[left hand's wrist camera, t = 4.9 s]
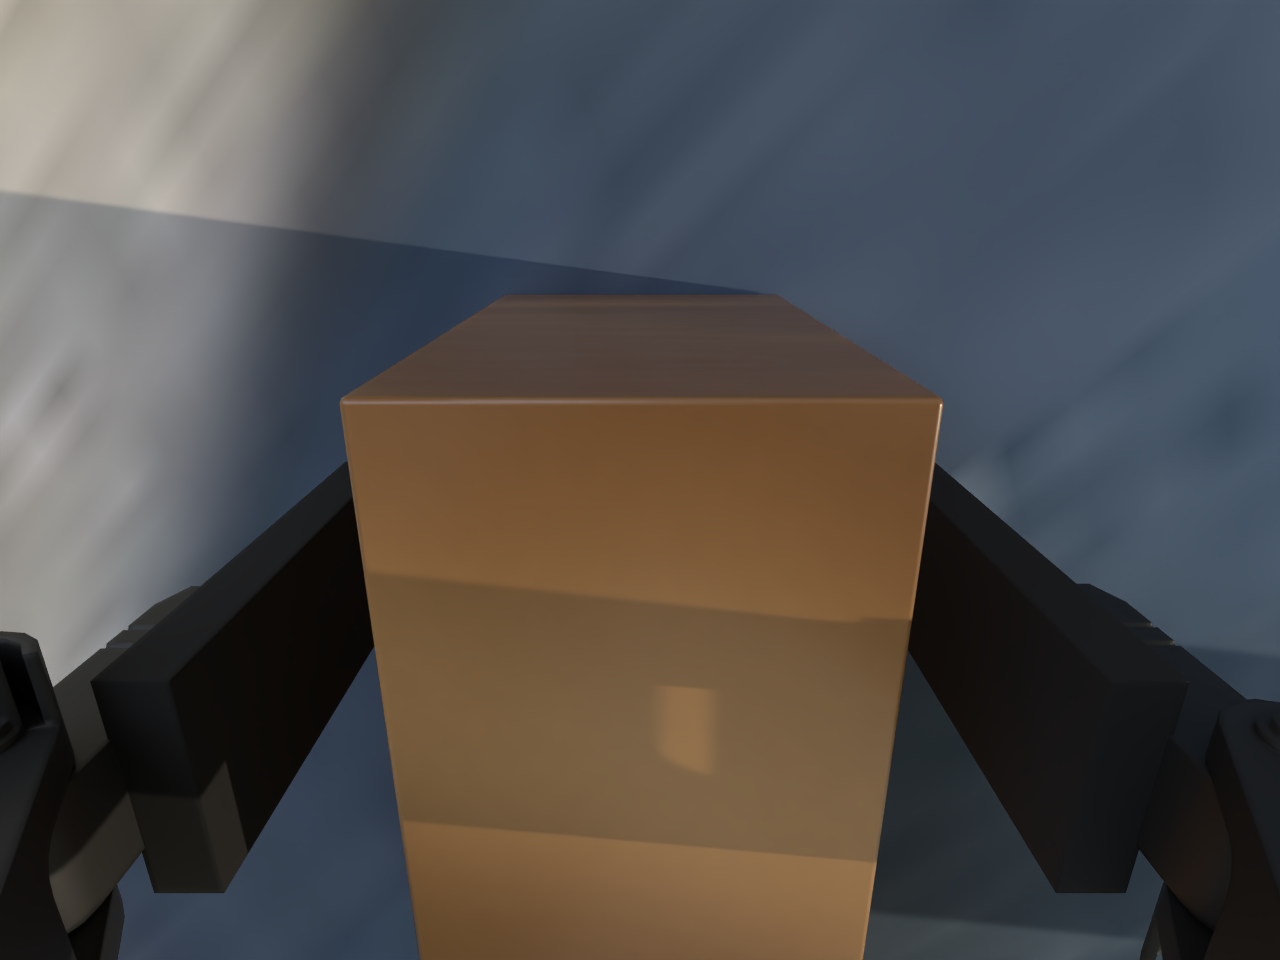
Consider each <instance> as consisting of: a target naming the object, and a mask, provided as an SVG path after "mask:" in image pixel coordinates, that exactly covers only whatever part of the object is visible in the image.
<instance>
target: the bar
mask: <svg viewBox="0 0 1280 960" xmlns="http://www.w3.org/2000/svg"><path fill="white" fill-rule="evenodd" d="M340 410H341V417H342V424H343V431H344V438H345V445H346V452H347V459H348V466H349V473H350V480H351V487H352V494H353V501H354V507H355V514H356V521H357V528H358V535H359V542H360V549H361V556H362V563H363V570H364V577H365V584H366V591H367V598H368V605H369V612H370V619H371V626H372V633H373V639H374V646H375V653H376V660H377V667H378V674H379V681H380V688H381V695H382V702H383V709H384V716H385V723H386V730H387V737H388V744H389V751H390V758H391V765H392V772H393V778H394V785H395V792H396V799H397V806H398V813H399V820H400V827H401V834H402V841H403V848H404V855H405V862H406V869H407V876H408V883H409V890H410V897H411V904H412V910H413V917H414V924H415V931H416V938H417V945H418V952H419V959H420V960H863V953H864V947H865V940H866V933H867V926H868V919H869V912H870V905H871V898H872V892H873V885H874V878H875V871H876V864H877V857H878V850H879V843H880V836H881V830H882V823H883V816H884V809H885V802H886V795H887V788H888V781H889V775H890V768H891V761H892V754H893V747H894V740H895V733H896V726H897V720H898V713H899V706H900V699H901V692H902V685H903V678H904V671H905V664H906V658H907V651H908V644H909V637H910V630H911V623H912V616H913V609H914V603H915V596H916V589H917V582H918V575H919V568H920V561H921V554H922V547H923V541H924V534H925V527H926V520H927V513H928V506H929V499H930V492H931V486H932V479H933V472H934V465H935V458H936V451H937V444H938V437H939V430H940V424H941V417H942V410H943V401H942V398H940V397H939V396H937V395H936V394H934V393H933V392H931V391H929V390H928V389H926V388H925V387H923V386H921V385H920V384H918V383H917V382H915V381H913V380H912V379H910V378H909V377H907V376H905V375H904V374H902V373H901V372H899V371H897V370H896V369H894V368H893V367H891V366H890V365H888V364H886V363H885V362H883V361H882V360H880V359H878V358H877V357H875V356H874V355H872V354H870V353H869V352H867V351H866V350H864V349H862V348H861V347H859V346H858V345H856V344H854V343H853V342H851V341H850V340H848V339H847V338H845V337H843V336H842V335H840V334H839V333H837V332H835V331H834V330H832V329H831V328H829V327H827V326H826V325H824V324H823V323H821V322H819V321H818V320H816V319H815V318H813V317H811V316H810V315H808V314H807V313H805V312H804V311H802V310H800V309H799V308H797V307H796V306H794V305H792V304H791V303H789V302H788V301H786V300H784V299H783V298H781V297H780V296H778V295H504V296H503V297H501V298H499V299H498V300H496V301H495V302H493V303H491V304H490V305H488V306H487V307H485V308H483V309H482V310H480V311H479V312H477V313H476V314H474V315H472V316H471V317H469V318H468V319H466V320H464V321H463V322H461V323H460V324H458V325H456V326H455V327H453V328H452V329H450V330H449V331H447V332H445V333H444V334H442V335H441V336H439V337H437V338H436V339H434V340H433V341H431V342H430V343H428V344H426V345H425V346H423V347H422V348H420V349H418V350H417V351H415V352H414V353H412V354H410V355H409V356H407V357H406V358H404V359H403V360H401V361H399V362H398V363H396V364H395V365H393V366H391V367H390V368H388V369H387V370H385V371H383V372H382V373H380V374H379V375H377V376H376V377H374V378H372V379H371V380H369V381H368V382H366V383H364V384H363V385H361V386H360V387H358V388H356V389H355V390H353V391H352V392H350V393H349V394H347V395H345V396H344V397H342V398H341V401H340Z"/></svg>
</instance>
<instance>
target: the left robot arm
mask: <svg viewBox="0 0 1280 960" xmlns="http://www.w3.org/2000/svg"><path fill="white" fill-rule="evenodd" d="M106 645H107V646H106V649H100V650H98V651H97V652H96V653H95V654H94V655H92V656H91V657H90V658H89V659H87V660H86V661H85V662H84V663H83V664H81V665H80V666H79V667H78V668H76V669H75V670H74V671H73V672H71V673H70V674H69V675H68V676H67V677H65V678H64V679H63V680H62V681H60V682H59V683H58V684H57V685H56V686H54V687H53V686H52V683H51V680H50V677H49V674H48V671H47V668H46V665H45V662H44V659H43V656H42V653H41V649H40V646H39V643H38V640H37V639H35V638H33V637H31V636H29V635H27V634H26V633H17V632H3V631H1V632H0V960H118V954H119V948H120V942H121V936H122V929H123V923H124V917H125V916H124V909H123V902H122V898H121V895H120V892H119V889H118V886H117V883H118V882H119V881H120V880H121V878H122V877H123V876H124V874H125V873H126V872H127V871H128V869H129V868H130V867H131V865H132V864H133V863H134V861H135V860H136V859H137V858H138V856H139V855H140V854H141V852H142V854H143V857H144V860H145V864H146V867H147V870H148V874H149V877H150V880H151V883H152V887H153V890H154V893H224V892H225V890H226V889H227V887H228V885H229V884H230V882H231V880H232V879H233V877H234V876H235V874H236V872H237V871H238V869H239V867H240V866H241V864H242V862H243V861H244V859H245V857H246V856H247V854H248V853H249V851H250V849H251V848H252V846H253V844H254V843H255V841H256V839H257V838H258V836H259V834H260V833H261V831H262V830H263V828H264V826H265V825H266V823H267V821H268V820H269V818H270V816H271V815H272V813H273V811H274V810H275V808H276V807H277V805H278V803H279V802H280V800H281V798H282V797H283V795H284V793H285V792H286V790H287V788H288V787H289V785H290V784H291V782H292V780H293V779H294V777H295V775H296V774H297V772H298V770H299V769H300V767H301V765H302V764H303V762H304V761H305V759H306V757H307V756H308V754H309V752H310V751H311V749H312V747H313V746H314V744H315V742H316V741H317V739H318V738H319V736H320V734H321V733H322V731H323V729H324V728H325V726H326V724H327V723H328V721H329V719H330V718H331V716H332V715H333V713H334V711H335V710H336V708H337V706H338V705H339V703H340V701H341V700H342V698H343V696H344V695H345V693H346V692H347V690H348V688H349V687H350V685H351V683H352V682H353V680H354V678H355V677H356V675H357V673H358V672H359V670H360V669H361V667H362V665H363V664H364V662H365V660H366V659H367V657H368V655H369V654H370V652H371V650H372V649H373V647H374V639H373V633H372V626H371V619H370V612H369V605H368V598H367V591H366V584H365V577H364V570H363V563H362V556H361V549H360V542H359V535H358V528H357V521H356V514H355V507H354V501H353V494H352V487H351V480H350V473H349V466H348V462H345V463H344V464H343V465H342V466H340V467H339V468H338V469H337V470H336V471H335V472H333V473H332V474H331V475H330V476H329V477H328V478H326V479H325V480H324V481H323V482H322V483H321V484H319V485H318V486H317V487H316V488H315V489H314V490H312V491H311V492H310V493H309V494H308V495H307V496H305V497H304V498H303V499H302V500H301V501H300V502H298V503H297V504H296V505H295V506H294V507H293V508H291V509H290V510H289V511H288V512H287V513H286V514H284V515H283V516H282V517H281V518H280V519H279V520H277V521H276V522H275V523H274V524H273V525H272V526H270V527H269V528H268V529H267V530H266V531H265V532H264V533H262V534H261V535H260V536H259V537H258V538H257V539H255V540H254V541H253V542H252V543H251V544H250V545H248V546H247V547H246V548H245V549H244V550H243V551H241V552H240V553H239V554H238V555H237V556H236V557H234V558H233V559H232V560H231V561H230V562H229V563H227V564H226V565H225V566H224V567H223V568H222V569H220V570H219V571H218V572H217V573H216V574H215V575H213V576H212V577H211V578H210V579H209V580H208V581H206V582H205V583H204V584H203V585H202V586H191V587H189V588H187V589H185V590H183V591H181V592H179V593H177V594H175V595H173V596H171V597H169V598H167V599H165V600H163V601H161V602H159V603H157V604H155V605H154V606H152V607H151V608H150V609H149V610H148V611H146V612H145V613H144V614H143V615H141V616H140V617H139V618H138V619H137V620H135V621H134V622H133V623H132V624H130V625H129V629H128V630H123V631H122V632H121V633H119V634H118V635H117V636H116V637H114V638H113V639H112V640H111V641H110V642H108V643H107V644H106ZM908 650H909V652H910V654H911V655H912V657H913V659H914V660H915V662H916V664H917V665H918V667H919V669H920V670H921V672H922V673H923V675H924V677H925V678H926V680H927V682H928V683H929V685H930V687H931V688H932V690H933V692H934V693H935V695H936V696H937V698H938V700H939V701H940V703H941V705H942V706H943V708H944V710H945V711H946V713H947V715H948V716H949V718H950V719H951V721H952V723H953V724H954V726H955V728H956V729H957V731H958V733H959V734H960V736H961V738H962V739H963V741H964V742H965V744H966V746H967V747H968V749H969V751H970V752H971V754H972V756H973V757H974V759H975V761H976V762H977V764H978V765H979V767H980V769H981V770H982V772H983V774H984V775H985V777H986V779H987V780H988V782H989V784H990V785H991V787H992V788H993V790H994V792H995V793H996V795H997V797H998V798H999V800H1000V802H1001V803H1002V805H1003V807H1004V808H1005V810H1006V811H1007V813H1008V815H1009V816H1010V818H1011V820H1012V821H1013V823H1014V825H1015V826H1016V828H1017V830H1018V831H1019V833H1020V834H1021V836H1022V838H1023V839H1024V841H1025V843H1026V844H1027V846H1028V848H1029V849H1030V851H1031V853H1032V854H1033V856H1034V857H1035V859H1036V861H1037V862H1038V864H1039V866H1040V867H1041V869H1042V871H1043V872H1044V874H1045V876H1046V877H1047V879H1048V880H1049V882H1050V884H1051V885H1052V887H1053V889H1054V890H1055V892H1056V893H1126V890H1127V887H1128V883H1129V880H1130V877H1131V874H1132V870H1133V867H1134V864H1135V860H1136V857H1137V854H1138V851H1139V850H1140V851H1141V852H1142V853H1143V855H1144V856H1145V857H1146V859H1147V860H1148V861H1149V862H1150V864H1151V865H1152V866H1153V868H1154V869H1155V870H1156V871H1157V873H1158V874H1159V875H1160V877H1161V878H1162V879H1163V880H1164V883H1163V886H1162V889H1161V892H1160V895H1159V898H1158V901H1157V904H1156V907H1155V911H1154V914H1153V917H1152V920H1151V923H1150V926H1149V929H1148V932H1147V935H1146V938H1145V941H1144V944H1143V947H1142V950H1141V955H1140V960H1155V959H1156V956H1157V955H1159V954H1161V953H1162V957H1163V960H1280V703H1279V702H1272V701H1265V700H1258V699H1250V700H1247V699H1245V698H1244V697H1243V696H1242V695H1240V694H1239V693H1238V692H1237V691H1236V690H1234V689H1233V688H1232V687H1231V686H1229V685H1228V684H1227V683H1226V682H1224V681H1223V680H1222V679H1221V678H1219V677H1218V676H1217V675H1216V674H1214V673H1213V672H1212V671H1211V670H1210V669H1208V668H1207V667H1206V666H1205V665H1203V664H1202V663H1201V662H1200V661H1198V660H1197V659H1196V658H1195V657H1193V656H1192V655H1191V654H1190V653H1188V652H1187V651H1186V650H1185V649H1184V648H1182V647H1181V646H1175V644H1174V640H1172V639H1171V638H1170V637H1169V636H1167V635H1166V634H1165V633H1164V632H1162V631H1161V630H1160V629H1159V628H1153V626H1152V623H1151V622H1150V621H1149V620H1148V619H1146V618H1145V617H1144V616H1143V615H1141V614H1140V613H1139V612H1138V611H1137V610H1135V609H1134V608H1133V607H1132V606H1130V605H1129V604H1128V603H1127V602H1125V601H1123V600H1121V599H1119V598H1117V597H1115V596H1113V595H1111V594H1109V593H1107V592H1105V591H1103V590H1101V589H1099V588H1096V587H1094V586H1092V585H1090V584H1076V583H1075V582H1074V581H1072V580H1071V579H1070V578H1069V577H1068V576H1067V575H1065V574H1064V573H1063V572H1062V571H1061V570H1060V569H1058V568H1057V567H1056V566H1055V565H1054V564H1053V563H1051V562H1050V561H1049V560H1048V559H1047V558H1046V557H1044V556H1043V555H1042V554H1041V553H1040V552H1039V551H1037V550H1036V549H1035V548H1034V547H1033V546H1032V545H1030V544H1029V543H1028V542H1027V541H1026V540H1025V539H1023V538H1022V537H1021V536H1020V535H1019V534H1018V533H1017V532H1015V531H1014V530H1013V529H1012V528H1011V527H1010V526H1008V525H1007V524H1006V523H1005V522H1004V521H1003V520H1001V519H1000V518H999V517H998V516H997V515H996V514H994V513H993V512H992V511H991V510H990V509H989V508H987V507H986V506H985V505H984V504H983V503H982V502H980V501H979V500H978V499H977V498H976V497H975V496H973V495H972V494H971V493H970V492H969V491H968V490H966V489H965V488H964V487H963V486H962V485H961V484H959V483H958V482H957V481H956V480H955V479H954V478H952V477H951V476H950V475H949V474H948V473H947V472H945V471H944V470H943V469H942V468H941V467H940V466H938V465H937V464H936V463H935V465H934V472H933V479H932V486H931V492H930V499H929V506H928V513H927V520H926V527H925V534H924V541H923V547H922V554H921V561H920V568H919V575H918V582H917V589H916V596H915V603H914V609H913V616H912V623H911V630H910V637H909V644H908Z"/></svg>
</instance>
